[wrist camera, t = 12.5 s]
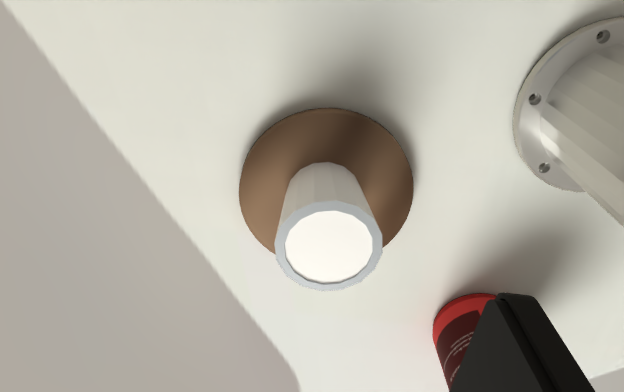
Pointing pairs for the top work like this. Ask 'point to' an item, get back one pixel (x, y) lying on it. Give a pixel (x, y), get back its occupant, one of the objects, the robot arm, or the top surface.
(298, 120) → the brown round coaster
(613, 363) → the top surface
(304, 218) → the white cup
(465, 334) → the canned food
